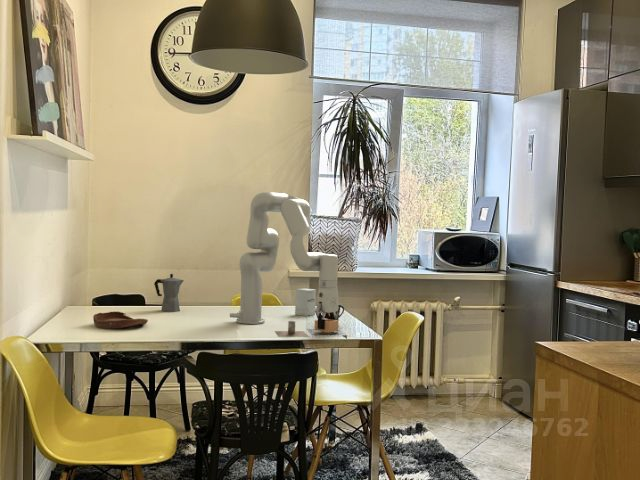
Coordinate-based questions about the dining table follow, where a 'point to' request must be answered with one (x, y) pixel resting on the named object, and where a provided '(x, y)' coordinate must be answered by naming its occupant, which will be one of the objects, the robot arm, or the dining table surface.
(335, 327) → the collar
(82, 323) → the dining table surface
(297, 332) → the stand
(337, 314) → the coffee mug
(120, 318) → the brown wooden bowl
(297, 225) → the robot arm
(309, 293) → the supplement box
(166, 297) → the coffeepot
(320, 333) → the base plate
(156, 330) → the dining table surface
